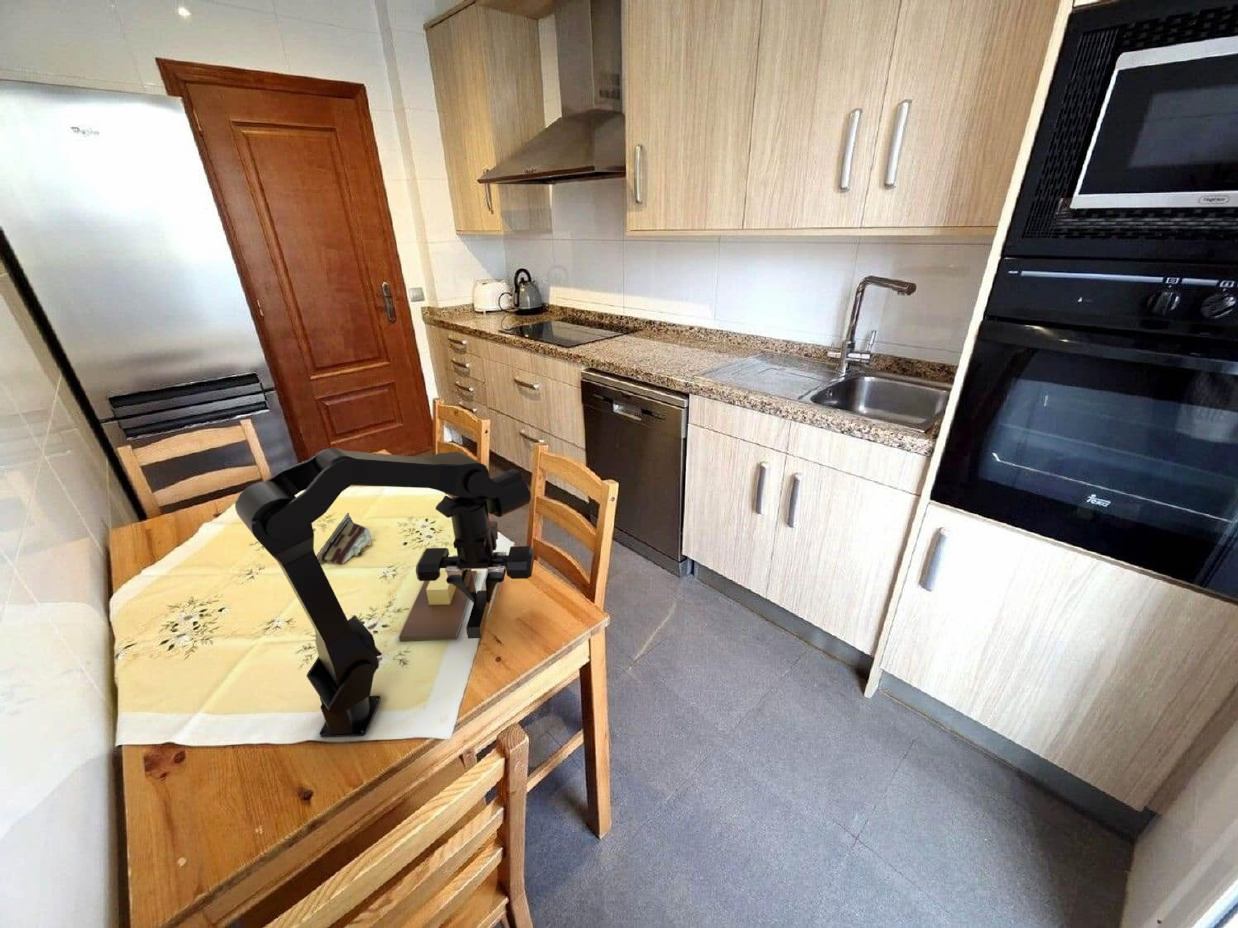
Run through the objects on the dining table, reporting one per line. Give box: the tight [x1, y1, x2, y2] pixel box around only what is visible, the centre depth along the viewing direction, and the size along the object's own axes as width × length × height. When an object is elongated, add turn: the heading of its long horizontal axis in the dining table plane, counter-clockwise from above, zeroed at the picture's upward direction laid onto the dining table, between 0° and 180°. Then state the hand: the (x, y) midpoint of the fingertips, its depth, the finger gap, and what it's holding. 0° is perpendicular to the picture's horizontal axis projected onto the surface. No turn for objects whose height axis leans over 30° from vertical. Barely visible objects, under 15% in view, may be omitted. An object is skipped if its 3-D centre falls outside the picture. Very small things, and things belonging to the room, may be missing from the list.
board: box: [398, 570, 478, 642], centre depth 97 cm, size 18×10×1 cm, turn 3°
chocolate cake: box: [316, 512, 373, 565], centre depth 112 cm, size 10×7×12 cm
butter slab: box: [426, 568, 452, 595], centre depth 97 cm, size 6×4×1 cm, turn 3°
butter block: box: [427, 584, 456, 605], centre depth 98 cm, size 6×4×2 cm, turn 3°
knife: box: [465, 569, 497, 639], centre depth 91 cm, size 21×2×2 cm, turn 3°
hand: (482, 601), depth 89 cm, fingers closed on knife, 2 cm apart
